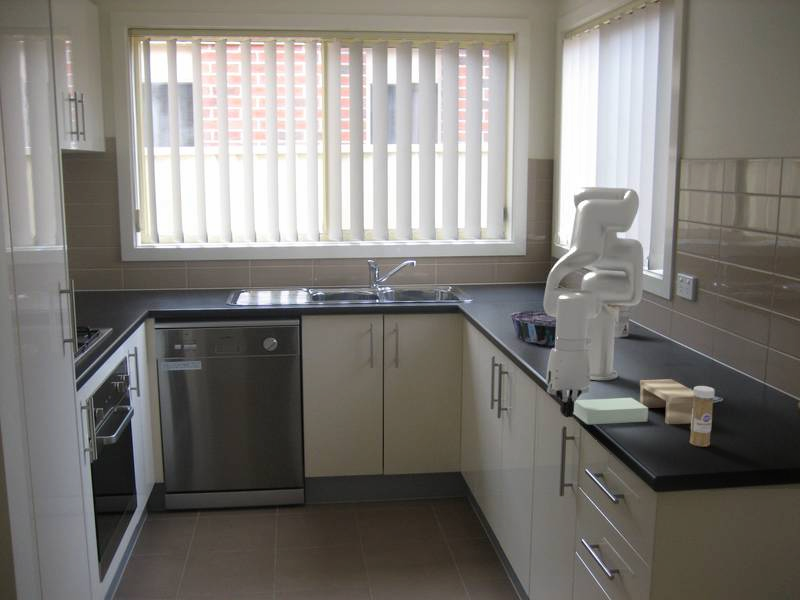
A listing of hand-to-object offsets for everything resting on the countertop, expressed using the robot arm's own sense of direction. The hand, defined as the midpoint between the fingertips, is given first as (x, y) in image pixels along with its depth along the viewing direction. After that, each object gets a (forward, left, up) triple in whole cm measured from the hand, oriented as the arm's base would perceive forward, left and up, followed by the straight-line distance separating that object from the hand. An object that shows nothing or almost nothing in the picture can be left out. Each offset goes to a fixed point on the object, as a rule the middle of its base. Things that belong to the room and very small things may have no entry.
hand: (566, 415), depth 213 cm
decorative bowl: (-89, +30, -2) cm, 94 cm away
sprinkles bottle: (+22, +24, -1) cm, 32 cm away
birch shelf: (0, +28, -1) cm, 28 cm away
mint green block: (0, +12, -1) cm, 12 cm away
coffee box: (-93, +57, -1) cm, 109 cm away
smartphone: (-15, +44, -2) cm, 46 cm away
